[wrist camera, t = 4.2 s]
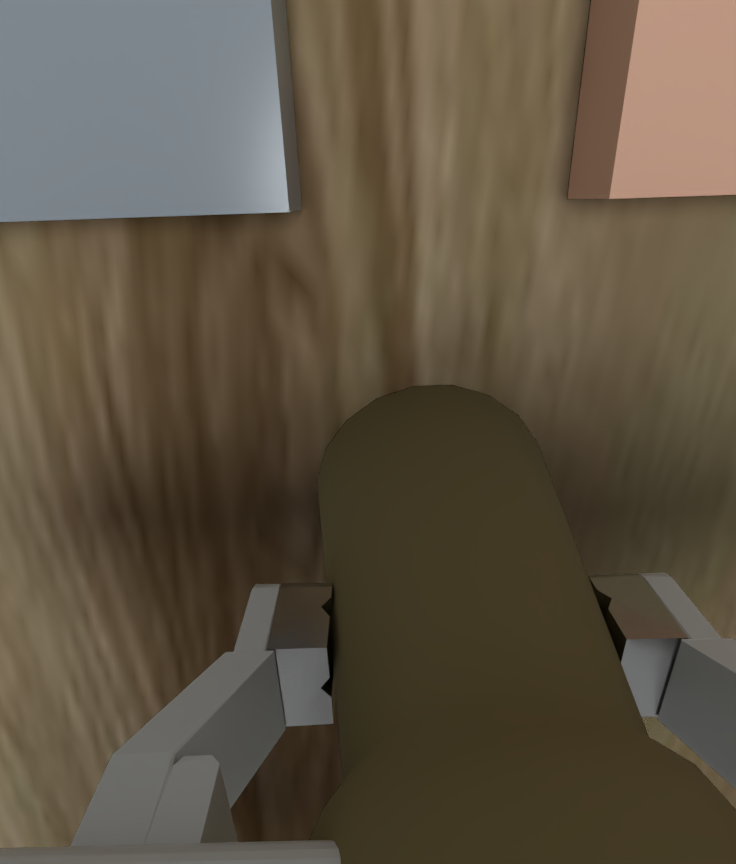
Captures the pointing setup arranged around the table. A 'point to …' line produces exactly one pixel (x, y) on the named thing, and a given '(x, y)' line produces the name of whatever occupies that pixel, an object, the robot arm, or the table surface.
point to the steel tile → (145, 109)
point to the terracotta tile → (657, 101)
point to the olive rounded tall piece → (483, 660)
